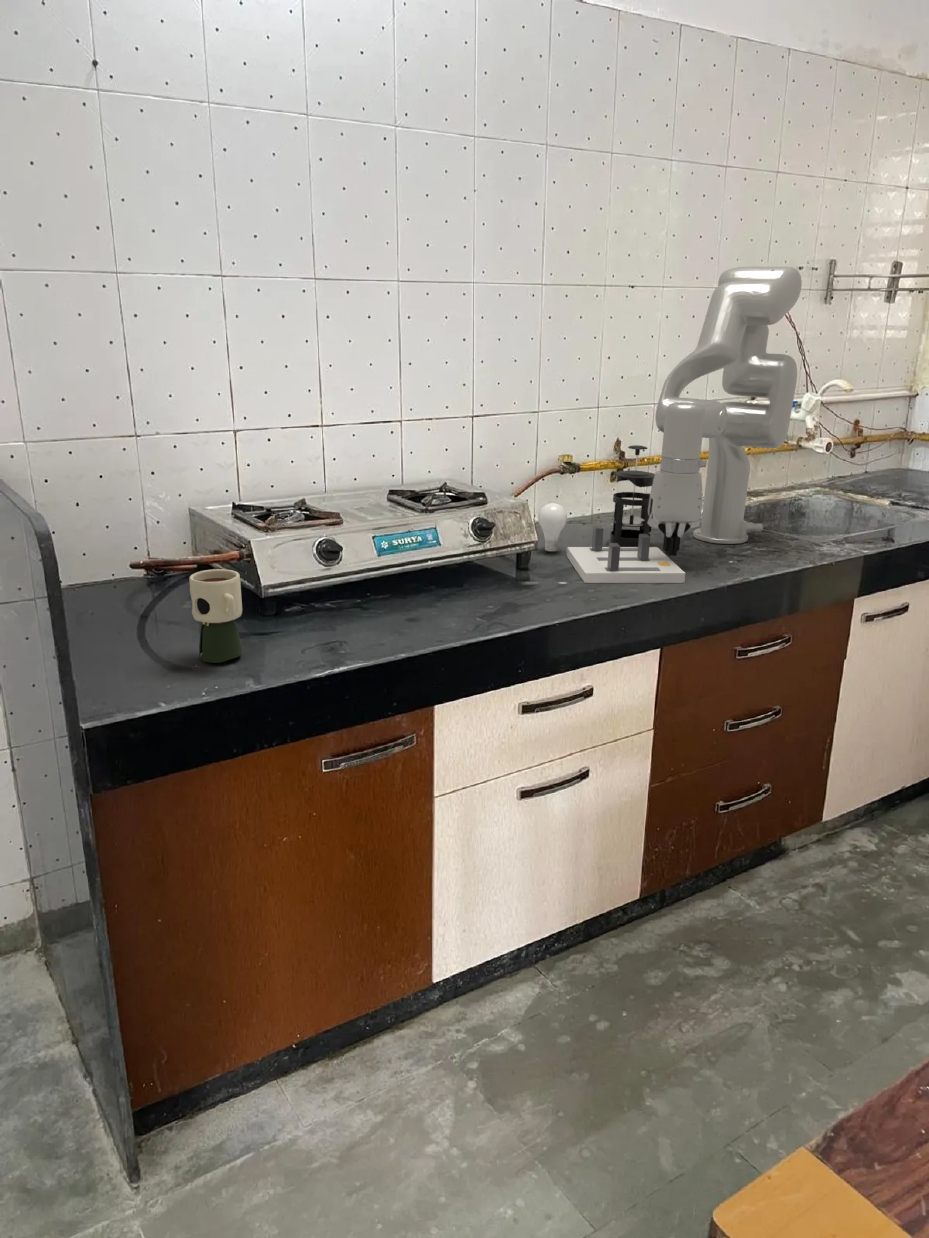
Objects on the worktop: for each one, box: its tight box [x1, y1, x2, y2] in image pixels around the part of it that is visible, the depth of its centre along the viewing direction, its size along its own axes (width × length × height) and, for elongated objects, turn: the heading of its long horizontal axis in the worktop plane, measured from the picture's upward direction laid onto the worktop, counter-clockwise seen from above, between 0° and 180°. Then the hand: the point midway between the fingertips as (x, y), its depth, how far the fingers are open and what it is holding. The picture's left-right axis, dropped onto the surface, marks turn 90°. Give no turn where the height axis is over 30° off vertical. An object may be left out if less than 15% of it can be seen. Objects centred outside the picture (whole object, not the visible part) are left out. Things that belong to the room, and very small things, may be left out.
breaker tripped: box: [637, 534, 651, 560], centre depth 179 cm, size 2×3×5 cm, turn 4°
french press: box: [607, 444, 655, 547], centre depth 193 cm, size 12×9×23 cm
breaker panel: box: [566, 546, 686, 584], centre depth 180 cm, size 20×20×2 cm
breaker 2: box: [607, 542, 620, 570], centre depth 172 cm, size 2×3×5 cm, turn 4°
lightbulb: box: [537, 502, 568, 554], centre depth 190 cm, size 6×6×11 cm
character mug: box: [188, 568, 243, 664], centre depth 128 cm, size 11×7×13 cm, turn 39°
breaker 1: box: [591, 524, 604, 550], centre depth 186 cm, size 2×3×5 cm, turn 4°
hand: (670, 554), depth 180 cm, fingers closed
